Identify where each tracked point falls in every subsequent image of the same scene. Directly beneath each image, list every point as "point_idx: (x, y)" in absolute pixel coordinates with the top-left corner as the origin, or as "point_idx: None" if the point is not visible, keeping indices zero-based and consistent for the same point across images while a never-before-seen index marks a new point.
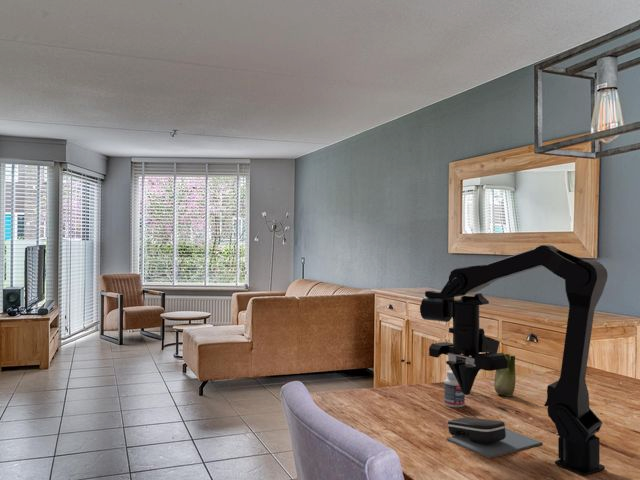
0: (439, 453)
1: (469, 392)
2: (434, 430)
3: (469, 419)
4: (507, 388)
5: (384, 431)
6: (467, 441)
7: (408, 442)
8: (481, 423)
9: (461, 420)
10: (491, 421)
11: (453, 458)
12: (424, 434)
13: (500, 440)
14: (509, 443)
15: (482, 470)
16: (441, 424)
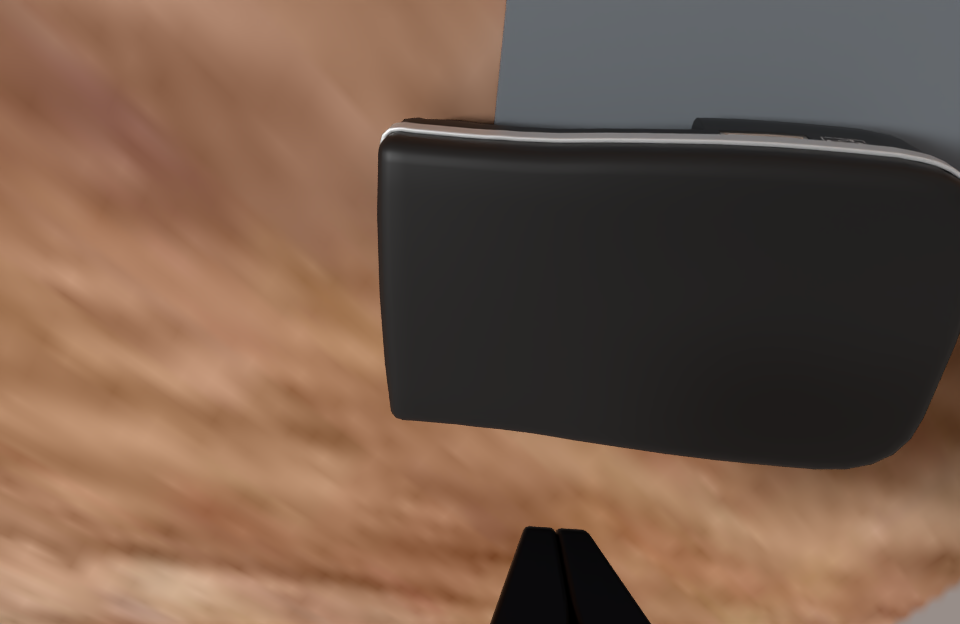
0: None
1: (599, 561)
2: (248, 338)
3: (519, 271)
4: None
5: (116, 588)
6: None
7: (360, 594)
8: (767, 386)
9: (486, 353)
10: (817, 254)
11: (705, 569)
12: (289, 448)
13: (813, 113)
14: (916, 111)
15: (918, 567)
16: (132, 176)
